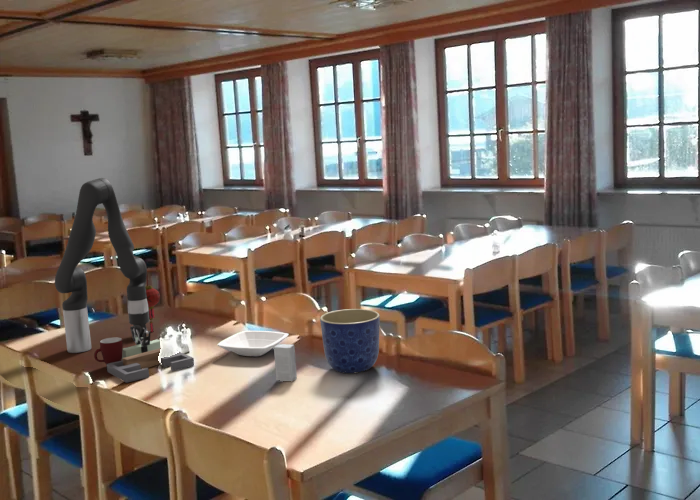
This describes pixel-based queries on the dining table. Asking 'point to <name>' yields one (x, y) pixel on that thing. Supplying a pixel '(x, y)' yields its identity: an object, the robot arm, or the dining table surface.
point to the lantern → (151, 301)
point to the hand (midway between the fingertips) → (142, 354)
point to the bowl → (252, 342)
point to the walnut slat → (143, 359)
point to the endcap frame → (136, 373)
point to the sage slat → (137, 348)
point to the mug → (110, 350)
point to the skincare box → (285, 362)
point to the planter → (351, 339)
